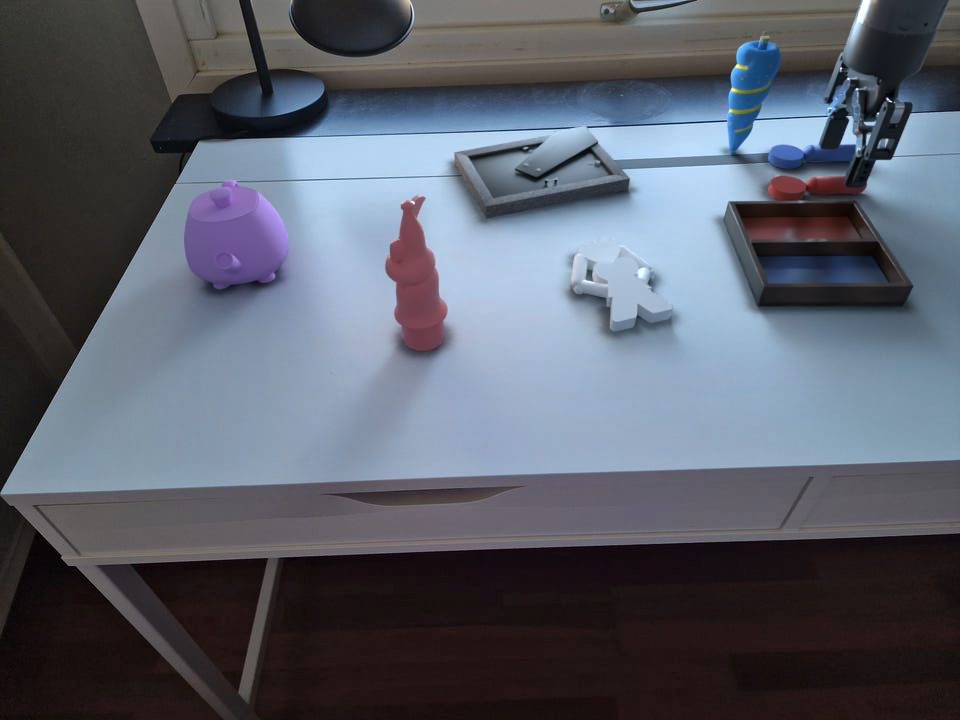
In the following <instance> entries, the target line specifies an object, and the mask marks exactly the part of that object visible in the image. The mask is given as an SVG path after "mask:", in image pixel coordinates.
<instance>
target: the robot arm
mask: <svg viewBox="0 0 960 720" xmlns="http://www.w3.org/2000/svg"><path fill="white" fill-rule="evenodd" d="M950 3H951V0H860V3H859V6H858V9H857V11H856V14H855V17H854V20H853V22H852V26H851V28H850V32H849V34H848V36H847V40H846V43H845V46H844V49H843V51H841V52H840V54H839V55H838V58H837V60H836V64H835V66H834V69H833V71H832V74H831V77H830V79H829V81H828V85H827V87H826V89H825V93H824V96H823V104H824V105H828V106H827V108H826V116H827V119H826V123H825V125H824V128H823V131H822V134H821V136H820V140H819V142H818V145H819V146H820V148H821V149H823V150H834V149H837V148H838V147H839V146H840V145H842V141H843V138H844V135H845V133H846V130H847V128H848V126H849V122H850V119H849V117H852V129H851V131H852V134H853V135H854V136H855V137H856V140H855V145H856V152H855V154H854V156H853V158H852V161H850V163H849V166H848V168H847V171H846V173H845V174H844V176H845V178H844V181H843V183H844V184H845V186H846V187H848V188H861V187H863V186H865V185H866V183H867V184H868V181H869V178H870V175H871V173H872V171H873V168H874V166H875V164H876V162H877V161H891V160H893V158H894V156H895V154H896V150H897V148H898V145H899V143H900V140H901V138H902V136H903V134H904V131H905V128H906V126H907V124H908V121H909V119H910V116H911V114H912V111H913V103H912V102H911V101H901V100H899V94H900V88H901V84H902V83H903V81H905V80H906V79H908V78H910V77H912V76H914V75H916V74H918V72H919V71H921V70H922V67H923V65H924V62H925V60H926V58H927V56H928V54H929V52H930V49H931V47H932V44H933V42H934V39H935V37H936V35H937V33H938V31H939V28H940V26H941V23H942V22H943V20H944V17H945V15H946V12H947V9H948V7H949V5H950ZM839 86H841V87H840V88H839V89H838V90H837V88H838V87H839ZM836 90H837V91H836ZM865 123H874V124H873V125H867V124H865ZM868 136H869V138H868ZM867 138H868V139H867ZM886 140H887V142H886ZM867 141H868V142H867Z"/></svg>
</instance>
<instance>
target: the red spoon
mask: <svg viewBox="0 0 960 720" xmlns="http://www.w3.org/2000/svg"><path fill="white" fill-rule="evenodd" d="M844 178H845V175H841V176H840V175H837V176H836V175H835V176H834V175H833V176H832V175H831V176H829V175H828V176H827V175H826V176H811V177H809V178H807V179H806V181H803V180H802V179H800V178H798V177H795V176H792V175H777V176H774V177H773V178H771V179H770V182H769V185H768V188H767V193H768V195H769V196H770V197H771V198H772V199H774V200H776V201H802V199H803V198H804V195H805V194H806V193H807V194H810V195H857V194H861V193H863V192H864V191H866V189H867V187H868V182H867V183H866V185H865V186H863V187H861V188H848V187H846V186H845V184H844V183H843V181H844Z"/></svg>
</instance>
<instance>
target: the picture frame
mask: <svg viewBox="0 0 960 720" xmlns="http://www.w3.org/2000/svg"><path fill="white" fill-rule="evenodd" d="M453 155H454V156H453V157H454V165H455V166H456V168H457V170H458V172H459V173H460V175H461V177H462V179H463V180H464V182H465V184H466V186H467V187H468V189H469V190H470V193H471V195H472V196H473V198H474V200H475V201H476V204H478V206H479V208H480V211H481V212H482V214H483V215H484V217H485V219H489V218H490V219H491V218H495V217H499V216H504V215H509V214H515V213H520V212H525V211H529V210H534V209H540V208H545V207H551V206H554V205H560V204H566V203H569V202H575V201H579V200H583V199H584V200H585V199H589V198H596V197H600V196H605V195H609V194H615V193H620V192H624V191H628V190H629V187H630V183H631V178H630V177H629V175H628V174H627V173H626V172H625V171H624V170H623V169H622V168H621V167H620V165H619V164H617V162H616V161H615V160H614V159H613V158H612V157H611V155H610V154H609V153H608V152H607V151H606V150H605V149H604V148H603V147H602V146H601V144H599V140H598V139H597V138H596V136H594V135H593V133H592V132H591V131H590V129H589V128H588V127H587V126H586V125H582V126H577V127H571V128H565V129H560V130H555V131H554V132H553V133H552V134H549V135H544V136H536V137H531V138H527V139H521V140H516V141H509V142H503V143H498V144H494V145H493V144H492V145H487V146H481V147H476V148H471V149H464V150H459V151H455V152H453Z"/></svg>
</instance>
